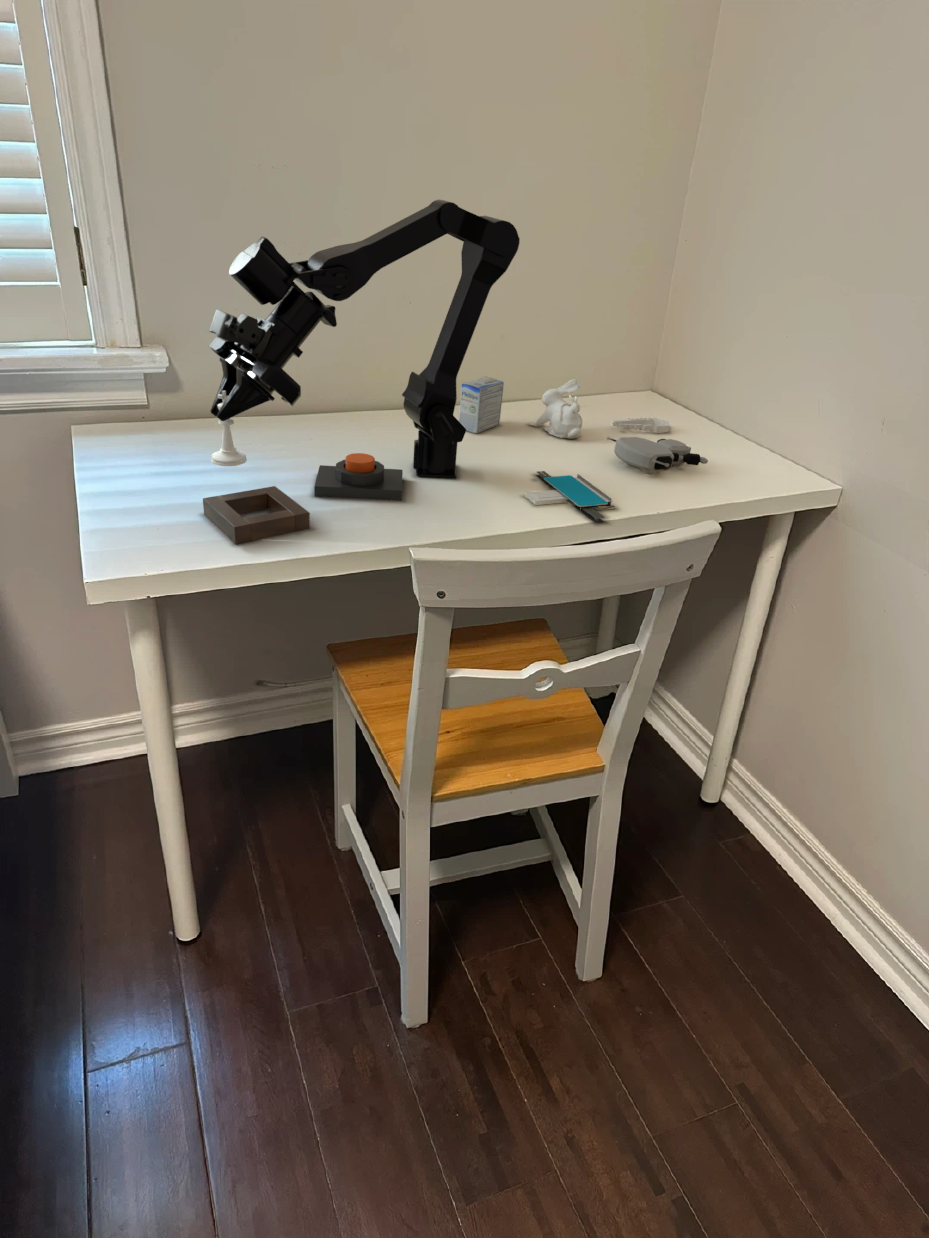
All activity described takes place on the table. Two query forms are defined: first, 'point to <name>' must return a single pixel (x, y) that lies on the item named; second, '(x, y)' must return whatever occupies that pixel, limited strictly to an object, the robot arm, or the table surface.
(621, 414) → the table surface
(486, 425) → the medicine box
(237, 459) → the chess piece
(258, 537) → the frame
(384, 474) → the push button base
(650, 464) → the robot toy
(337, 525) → the table surface
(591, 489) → the phone stand
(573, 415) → the rabbit figurine
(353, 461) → the orange push button
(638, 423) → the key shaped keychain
